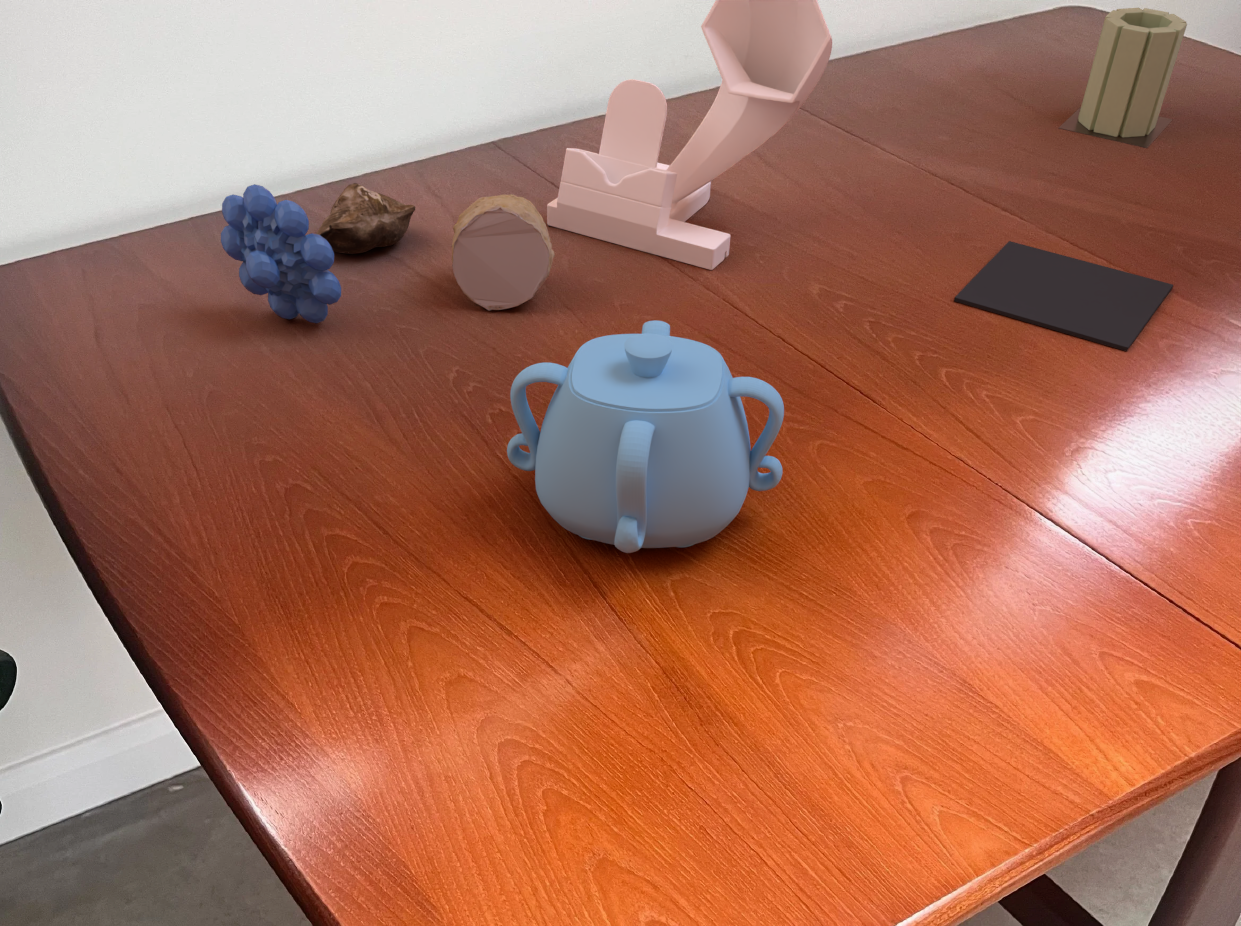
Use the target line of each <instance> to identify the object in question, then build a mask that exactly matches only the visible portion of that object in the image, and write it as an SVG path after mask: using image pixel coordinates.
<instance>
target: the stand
mask: <svg viewBox="0 0 1241 926" xmlns="http://www.w3.org/2000/svg"><path fill="white" fill-rule="evenodd" d="M1080 109H1081V106H1080V107H1079V108H1078V109H1077V110H1075V111H1074V112H1073V114H1071V115H1070V116H1069V117H1068V118H1067V119H1066V120H1065V121H1064V122H1063V123H1062V124H1061V125H1060V126H1059V127H1058V129H1059V130H1064V131H1067V132H1073V133H1078V134H1082V135H1086V136H1090V137H1094V138H1095V137H1096V138H1100V139H1104V140H1108V141H1113V142H1117V143H1122V144H1126V145H1131V146H1135V147H1139V148H1144V149H1149V147H1150V146H1151V145H1152V144H1153V143H1154V142H1155V141H1156V139H1158V137H1159V136H1160V135H1161V134H1162V133H1163V132H1164V130H1165V129H1166V128H1167V127H1168V126H1169V125H1170V124H1171V123H1172V122H1173V121H1174V119H1173V118H1169V117H1163V116H1160V115H1159V116H1158V120H1157V123H1156V126H1155V128H1154V129H1153V130H1152V131H1151V132H1150V133H1149V134H1148V135H1146V134H1145V136H1138V137H1125V138H1122V137H1121V136H1120V135H1119V136H1118V137H1114V136H1109V135H1105V134H1101V133H1096V132H1094V130H1088V129H1087V128H1086V127H1085V126H1083V125H1082V124H1081V123H1080V122H1078V120H1079V119H1078V117H1079V113H1080Z"/></svg>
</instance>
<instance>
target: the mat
mask: <svg viewBox="0 0 1241 926" xmlns="http://www.w3.org/2000/svg"><path fill="white" fill-rule="evenodd" d="M1173 288H1174V284H1173V283H1169V282H1166V281H1161V280H1158V279H1154V278H1149V277H1146V276H1142V275H1138V274H1136V273H1132V272H1128V271H1124V270H1120V269H1116V268H1113V267H1109V266H1105V265H1101V264H1097V263H1094V262H1089V261H1086V260H1083V259H1078V258H1075V257H1072V256H1067V255H1064V254H1059V253H1056V252H1053V251H1048V250H1044V249H1041V248H1037V247H1034V246H1030V245H1026V244H1022V243H1019V242H1015V241H1011V240H1009V241H1008V242H1006V244H1005V245H1003V247H1002V248H1000V250H999V251H998V252H997V253H996V254H995V255H994V256H993V257H992V258H991V259H990V260H989V261H988V262H987V263H986V264H985V265H984V266H983V267H982V268H981V269H980V270H979V271H978V272H977V273H976V275H974V277H973V278H972V279H970V281H969V282H968V283H967V284H966V285H965V286H964V287H963V288H962V289H961V290H960V291H959V292H958V293H957V294H956V295H955V296H954V298H953V302H955V303H959V304H963V305H966V306H969V307H973V308H977V309H979V310H983V311H987V312H989V313H993V314H996V315H999V316H1003V317H1008V318H1011V319H1014V320H1017V321H1021V322H1025V323H1027V324H1032V325H1034V326H1037V327H1042V328H1045V329H1049V330H1052V331H1055V332H1059V333H1062V334H1065V335H1069V336H1072V337H1075V338H1078V339H1083V340H1085V341H1086V340H1087V341H1089V342H1093V343H1097V344H1100V345H1104V346H1107V347H1111V348H1114V349H1117V350H1120V351H1124V352H1128V351H1129V349H1130V348H1131V347H1132V345H1133V344H1134V342H1135V341H1136V339H1137V338H1138V337H1139V336H1140V334H1141V333H1142V331H1143V330H1144V328H1145V327H1146V326H1147V325H1148V323H1149V322H1150V320H1151V319H1152V317H1153V316H1154V315H1155V313H1156V312H1157V311H1158V309H1159V308H1160V306H1161V305H1162V304H1163V303H1164V301H1165V299H1166V298H1167V297H1168V295H1169V294H1170V293H1171V291H1172V290H1173Z"/></svg>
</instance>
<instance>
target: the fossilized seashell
mask: <svg viewBox="0 0 1241 926" xmlns="http://www.w3.org/2000/svg"><path fill="white" fill-rule="evenodd" d="M415 212H416V206H415V205H413V204H405V203H403V202H400V201H398V200H396V199H394V198H393V197H390V196H388V195H385V194H382V193H379V192H377V191H373V190H370V189H368V188H366V187H365V186H363V185H361V184H359V183H357V182H353V183H350V184H348V185H347V186H346V187H345V188H344V189H343V191H342V192H341V193H340V194H339V196H338V197H337V198H336V200H335V201H334V203H333V205H332V207H331V209H330V212H329V215H327V216H326V218H324V219H323V221H322V224H321V225H320V226H319V228H318V229H317V231H316V233H315V234H317V235H320V236H322V237H323V238H325V239H326V240H327V241H328V242H329V244H330V245H331V247H332V249H333V252H336V253H339V254H349V255H353V254H362V253H366V252H369V251H371V250H373V249H375V248H385V247H392V246H393V245H395V244H396V243H397V242H400V241H401V239H403V237H404V236H405V234H406V232H407V231H408V229H409V226H410V222H411V218H412V216H413V214H414V213H415Z"/></svg>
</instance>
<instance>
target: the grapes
mask: <svg viewBox="0 0 1241 926" xmlns="http://www.w3.org/2000/svg"><path fill="white" fill-rule="evenodd" d="M221 214H222V216H223V220H224V221H225V222H226V223H227V225H225V226H224V227H223V229H222V231H221V232H220V243H221V246H222V249H223V250H224V252H225V253H226V254H227V256H229V257H230V258H232V259H234V261H238V262H242V263H241V264H240V265H239V268H238V278H239V280H240V283H241V285H242V286H243V287H244V289H245V290H246V291H248V292H250V293H251V294H253V295H257V296H263V295H266V294H267V302H268V304H269V305H268V306H269V307H270V309H271V310H272V312H273V313H274V314H275V315H276V316H279V318H281V319H284V320H289V321H290V320H292V319H295V318H297V317H298V316H299V315H300V316H301V318H302V319H304V320H305V321H307V322H309V323H312V324H319V323H322V322H324V321H325V320H326V318H327V317H328V316H329V315H328V314H329V306H331V305H334V304H336V303H339V300H340V298H341V297H342V285H341V283H340V281H339V279H338V278H337V276H336V275H335V274H334V273H333V272H332V271H330V269H331V268H332V266H333V265H334V263H335V251H334V250H333V249H332V247H331V245H330V244H329V242H328V241H327V240H326V239H325V238H323V237H322V236H320V235H317V234H316V233H313V232H311V233H309V234H308V231H309V230H310V220H309V217H308V215H307V213H306V211H305V210H304V209H303V207H302V206H301V205H299V204H298V203H297V202H295V201H292V200H289V199H284V200H281V201H278V202H277V200H276V198H275V196H274V195H273V194H272V193H271V191H270V190H268V189H267V188H266V187H265V186H263V185H260V184H251V185H248V186H247V187H246V188H245V190H244V192H243V194H242V195H237V194H235V193H232V194H230V195H227V196H225V198H224V199H223V201H222V203H221Z"/></svg>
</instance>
